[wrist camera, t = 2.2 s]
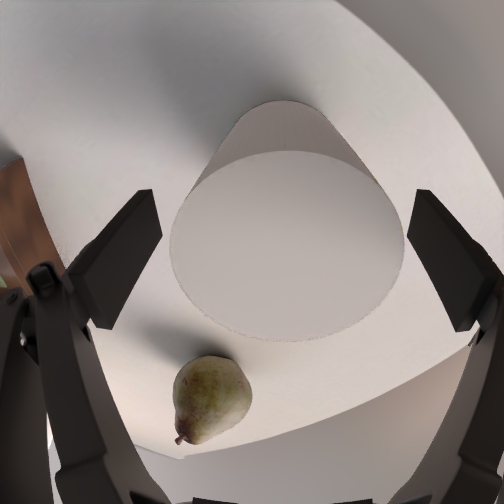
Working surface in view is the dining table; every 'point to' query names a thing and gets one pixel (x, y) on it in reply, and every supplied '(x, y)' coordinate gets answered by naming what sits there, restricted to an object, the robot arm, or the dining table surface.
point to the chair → (21, 230)
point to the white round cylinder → (286, 230)
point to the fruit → (209, 398)
